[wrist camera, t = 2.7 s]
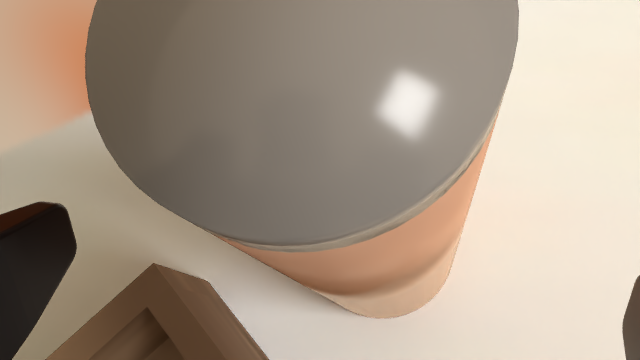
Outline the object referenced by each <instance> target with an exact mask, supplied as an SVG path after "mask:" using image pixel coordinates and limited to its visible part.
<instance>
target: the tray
mask: <svg viewBox="0 0 640 360" xmlns="http://www.w3.org/2000/svg"><path fill="white" fill-rule="evenodd" d="M45 360H269V359H268V357H267V356H266V355H265V354H264V352H263V351H262V350H261V349H260V347H259V346H258V345H257V343H256V342H255V341H254V340H253V338H252V337H251V336H250V335H249V333H248V332H247V331H246V329H245V328H244V327H243V326H242V324H241V323H240V322H239V321H238V319H237V318H236V317H235V315H234V314H233V313H232V312H231V310H230V309H229V308H228V307H227V305H226V304H225V303H224V301H223V300H222V299H221V298H220V296H219V295H218V294H217V293H216V291H215V290H214V289H213V288H212V286H211V285H210V284H209V282H208V281H205V280H202V279H199V278H196V277H193V276H190V275H187V274H184V273H181V272H178V271H175V270H173V269H170V268H167V267H164V266H161V265H158V264H155V263H153V264H152V265H151V266H150V267H149V268H147V269H146V270H145V271H144V272H143V273H142V274H141V275H140V276H139V277H137V278H136V279H135V280H134V281H133V282H132V283H131V284H130V285H128V286H127V287H126V288H125V289H124V290H123V291H122V292H121V293H119V294H118V295H117V296H116V297H115V298H114V299H113V300H112V301H110V302H109V303H108V304H107V305H106V306H105V307H104V308H103V309H102V310H100V311H99V312H98V313H97V314H96V315H95V316H94V317H93V318H91V319H90V320H89V321H88V322H87V323H86V324H85V325H84V326H82V327H81V328H80V329H79V330H78V331H77V332H76V333H75V334H74V335H72V336H71V337H70V338H69V339H68V340H67V341H66V342H65V343H63V344H62V345H61V346H60V347H59V348H58V349H57V350H56V351H54V352H53V353H52V354H51V355H50V356H49V357H48V358H47V359H45Z"/></svg>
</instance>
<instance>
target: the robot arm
mask: <svg viewBox="0 0 640 360" xmlns="http://www.w3.org/2000/svg"><path fill="white" fill-rule="evenodd" d="M76 249H77V244H76V239H75V236H74V232H73V229H72V225H71V221H70V218H69V214H68V211H67V209H66V208H65V207H64V206H63V205H61V204H58V203H50V202H36V203H33V204H30V205H27V206H24V207H21V208H18V209H15V210H12V211H9V212H6V213H3V214H1V215H0V360H12V358H13V357H14V355H15V354H16V353H17V351H18V350H19V348H20V347H21V346H22V344H23V343H24V341H25V340H26V338H27V337H28V335H29V334H30V333H31V331H32V329H33V328H34V326H35V325H36V323H37V321H38V320H39V318H40V316H41V315H42V313H43V311H44V309H45V308H46V306H47V304H48V302H49V301H50V299H51V297H52V296H53V294H54V292H55V290H56V289H57V287H58V285H59V283H60V282H61V280H62V278H63V277H64V275H65V273H66V271H67V270H68V268H69V266H70V264H71V263H72V261H73V259H74V257H75V254H76ZM623 340H624V347H625V354H626V360H640V275H639V276H638V278H637V279H636V281H635V284H634V287H633V290H632V293H631V296H630V300H629V303H628V306H627V309H626V312H625V315H624V319H623Z"/></svg>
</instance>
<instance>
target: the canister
mask: <svg viewBox="0 0 640 360" xmlns="http://www.w3.org/2000/svg"><path fill="white" fill-rule="evenodd" d="M518 21H519V8H518V0H97V2H96V5H95V8H94V12H93V15H92V19H91V23H90V27H89V31H88V39H87V46H86V53H85V59H86V60H85V61H86V62H85V64H86V65H85V70H86V71H85V73H86V75H85V76H86V77H85V78H86V85H87V91H88V99H89V104H90V107H91V110H92V114H93V117H94V121H95V124H96V127H97V129H98V131H99V133H100V135H101V137H102V139H103V141H104V144H105V146H106V148H107V149H108V151H109V152H110V154H111V155H112V157H113V158H114V160H115V161H116V163H117V164H118V166H119V167H120V169H121V170H122V171H123V172H124V173H125V174H126V175H127V176H128V177H129V178H130V179H131V180H132V182H133V183H134V184H135V185H136V186H137V187H138V188H139V189H141V190H142V191H143V192H144V193H146V194H147V195H148V196H149V197H151V198H152V199H153V200H154V201H156V202H157V203H158V204H160V205H161V206H163V207H165V208H166V209H168V210H170V211H172V212H173V213H175V214H177V215H179V216H180V217H182V218H184V219H186V220H187V221H189V222H191V223H193V224H195V225H196V226H198V227H200V228H202V229H204V230H205V231H207V232H209V233H211V234H212V235H214V236H216V237H218V238H220V239H221V240H223V241H225V242H227V243H229V244H230V245H232V246H234V247H236V248H238V249H239V250H241V251H243V252H245V253H247V254H248V255H250V256H252V257H254V258H256V259H257V260H259V261H261V262H263V263H264V264H266V265H268V266H270V267H272V268H273V269H275V270H277V271H279V272H281V273H282V274H284V275H286V276H288V277H290V278H291V279H293V280H295V281H297V282H299V283H300V284H302V285H304V286H306V287H308V288H309V289H311V290H313V291H315V292H316V293H318V294H320V295H322V296H324V297H325V298H327V299H329V300H331V301H333V302H334V303H336V304H338V305H340V306H342V307H343V308H345V309H347V310H349V311H351V312H353V313H356V314H358V315H361V316H365V317H370V318H378V319H382V318H394V317H399V316H403V315H406V314H409V313H411V312H413V311H416V310H417V309H419V308H421V307H422V306H424V305H425V304H426V303H428V302H429V301H430V300H431V299H432V298H433V297H434V296H435V295H436V294H437V293H438V292H439V291H440V289H441V288H442V286H443V285H444V283H445V281H446V279H447V277H448V275H449V273H450V270H451V267H452V264H453V261H454V257H455V254H456V251H457V247H458V244H459V241H460V238H461V234H462V231H463V228H464V224H465V221H466V218H467V215H468V211H469V208H470V205H471V201H472V198H473V195H474V192H475V188H476V185H477V182H478V178H479V175H480V172H481V169H482V165H483V162H484V159H485V155H486V152H487V149H488V146H489V142H490V139H491V136H492V132H493V129H494V126H495V123H496V119H497V116H498V113H499V109H500V106H501V103H502V100H503V96H504V93H505V90H506V86H507V83H508V80H509V76H510V73H511V70H512V66H513V61H514V56H515V51H516V46H517V41H518Z"/></svg>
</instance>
